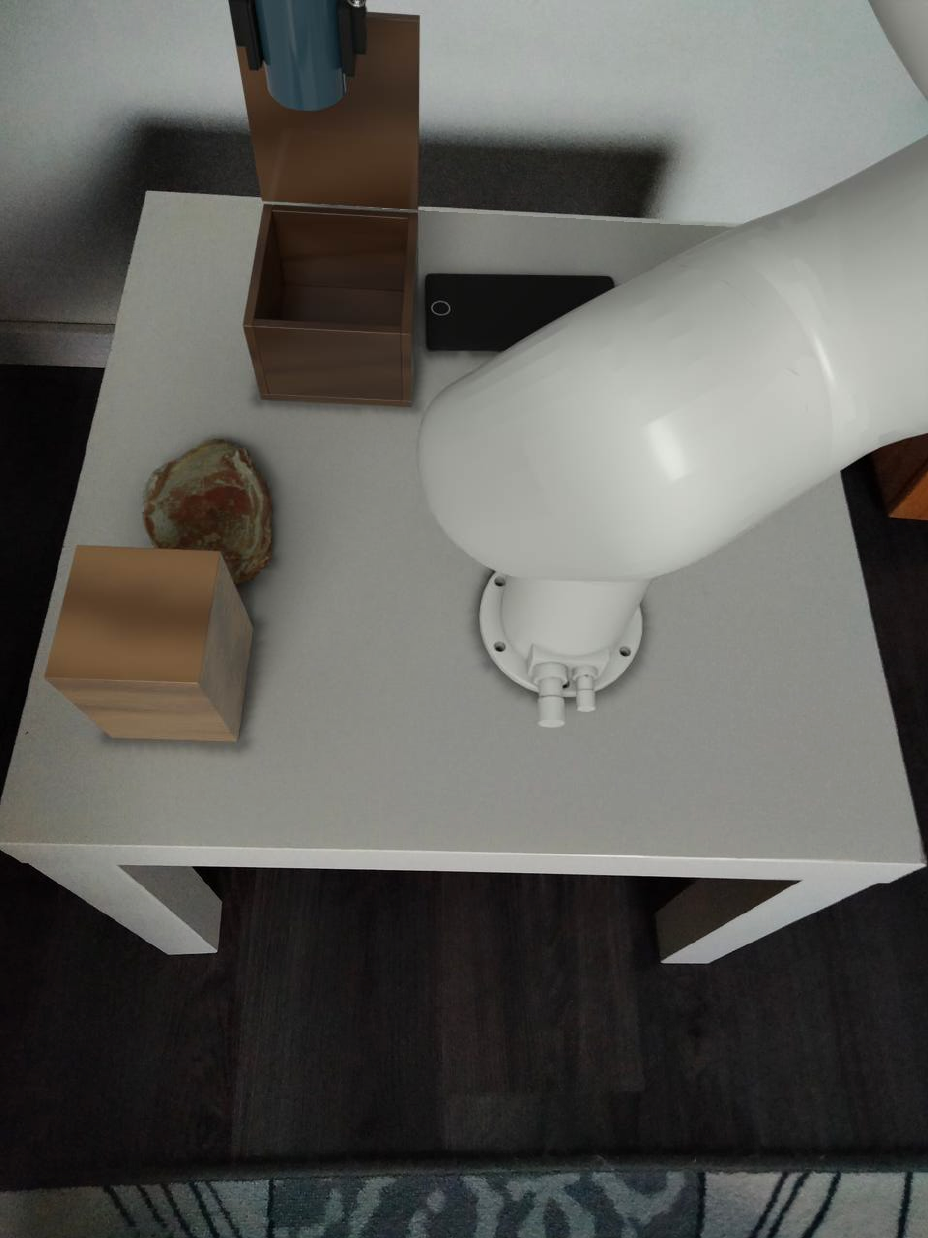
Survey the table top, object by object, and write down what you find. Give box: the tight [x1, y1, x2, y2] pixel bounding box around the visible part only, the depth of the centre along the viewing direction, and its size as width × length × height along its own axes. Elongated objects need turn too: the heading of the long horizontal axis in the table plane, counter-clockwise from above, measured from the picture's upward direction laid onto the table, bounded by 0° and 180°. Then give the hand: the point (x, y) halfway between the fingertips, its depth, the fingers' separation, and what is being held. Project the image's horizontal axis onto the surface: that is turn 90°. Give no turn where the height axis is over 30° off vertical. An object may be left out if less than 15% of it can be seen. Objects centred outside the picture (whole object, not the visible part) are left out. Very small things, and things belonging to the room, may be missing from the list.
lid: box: [228, 6, 421, 211], centre depth 65 cm, size 14×13×5 cm
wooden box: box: [242, 203, 420, 408], centre depth 72 cm, size 14×13×9 cm
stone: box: [141, 438, 274, 586], centre depth 66 cm, size 13×10×3 cm
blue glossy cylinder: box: [254, 0, 347, 111], centre depth 50 cm, size 5×5×7 cm
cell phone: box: [424, 272, 616, 352], centre depth 78 cm, size 9×18×1 cm, turn 92°
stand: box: [44, 544, 254, 743], centre depth 57 cm, size 9×9×12 cm
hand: (304, 56), depth 52 cm, fingers closed on blue glossy cylinder, 5 cm apart
